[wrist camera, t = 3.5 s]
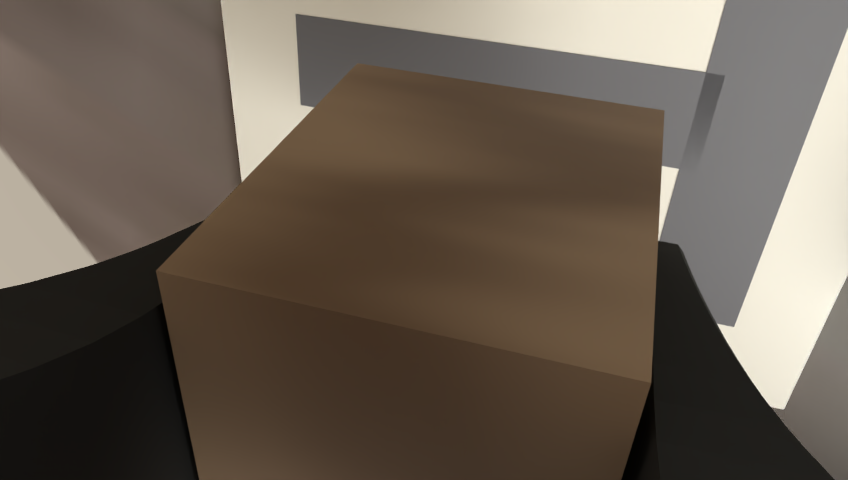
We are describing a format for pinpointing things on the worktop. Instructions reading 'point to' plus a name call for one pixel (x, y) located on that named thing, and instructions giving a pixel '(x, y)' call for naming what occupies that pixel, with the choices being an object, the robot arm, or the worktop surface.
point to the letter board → (632, 85)
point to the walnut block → (426, 289)
